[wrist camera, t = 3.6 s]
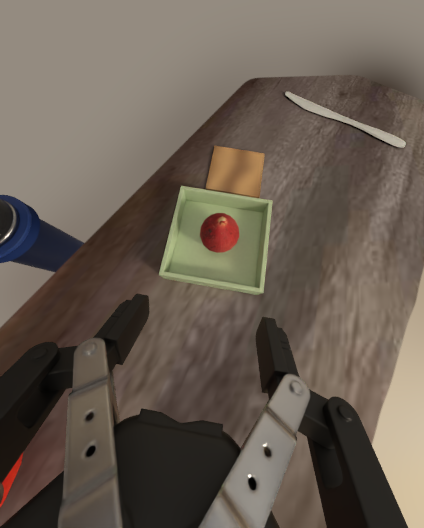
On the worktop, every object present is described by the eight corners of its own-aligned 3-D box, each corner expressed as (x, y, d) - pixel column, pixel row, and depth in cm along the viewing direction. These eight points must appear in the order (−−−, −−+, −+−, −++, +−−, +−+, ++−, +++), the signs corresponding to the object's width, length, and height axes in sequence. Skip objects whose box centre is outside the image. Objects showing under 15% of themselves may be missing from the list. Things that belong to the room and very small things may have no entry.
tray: (164, 278, 29) (158, 274, 26) (183, 197, 33) (181, 185, 29) (257, 294, 28) (263, 293, 25) (266, 211, 32) (272, 200, 29)
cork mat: (205, 189, 33) (205, 188, 33) (214, 147, 36) (214, 145, 35) (258, 198, 33) (259, 197, 32) (264, 155, 35) (264, 153, 35)
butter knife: (403, 150, 36) (408, 140, 36) (281, 97, 39) (288, 88, 39) (400, 153, 36) (405, 142, 37) (280, 100, 40) (287, 91, 40)
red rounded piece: (208, 263, 29) (209, 247, 21) (195, 233, 31) (191, 207, 23) (240, 251, 30) (252, 230, 22) (226, 222, 31) (233, 193, 23)
